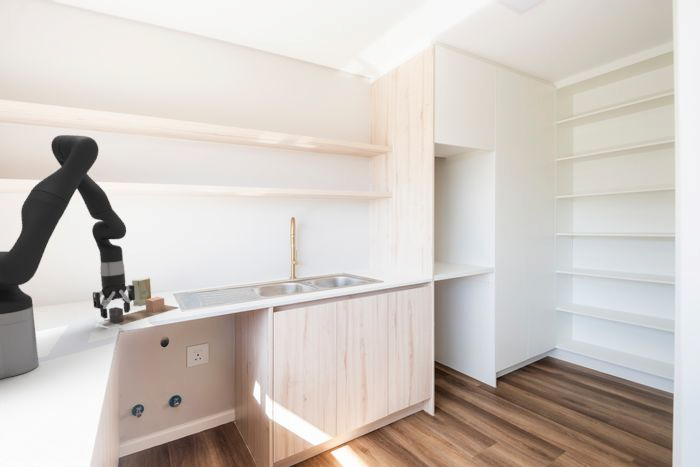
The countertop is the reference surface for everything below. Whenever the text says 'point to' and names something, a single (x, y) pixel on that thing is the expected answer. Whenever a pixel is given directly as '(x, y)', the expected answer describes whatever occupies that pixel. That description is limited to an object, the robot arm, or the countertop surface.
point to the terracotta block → (155, 304)
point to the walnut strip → (132, 315)
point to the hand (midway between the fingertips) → (116, 315)
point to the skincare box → (141, 291)
